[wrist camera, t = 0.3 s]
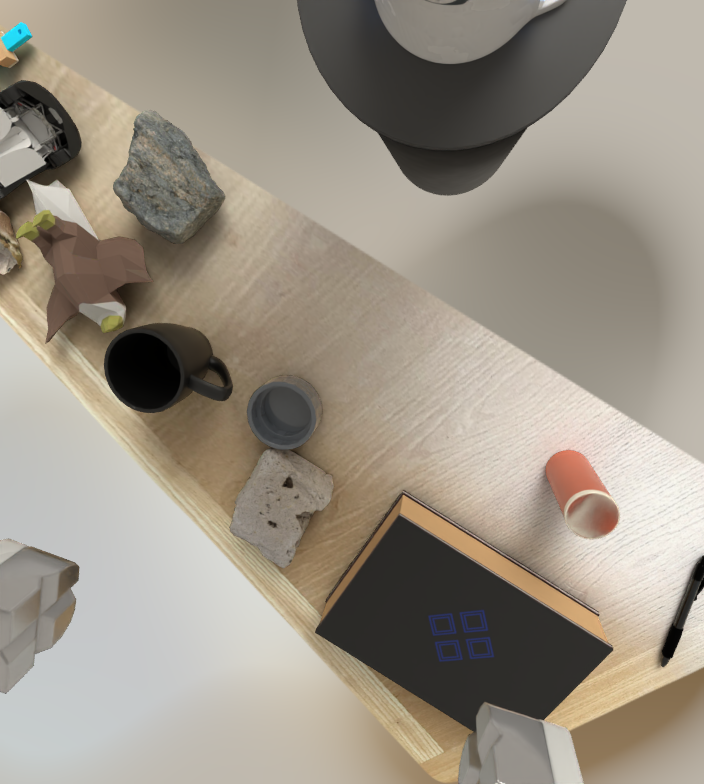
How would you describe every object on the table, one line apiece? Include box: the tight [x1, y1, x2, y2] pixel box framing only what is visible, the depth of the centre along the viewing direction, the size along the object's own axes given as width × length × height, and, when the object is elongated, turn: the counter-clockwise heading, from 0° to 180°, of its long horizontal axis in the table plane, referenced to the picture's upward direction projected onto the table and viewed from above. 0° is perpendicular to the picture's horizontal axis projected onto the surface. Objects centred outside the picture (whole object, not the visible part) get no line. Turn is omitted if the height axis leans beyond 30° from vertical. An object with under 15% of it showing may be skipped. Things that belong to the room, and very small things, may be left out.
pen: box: [661, 556, 704, 667], centre depth 58 cm, size 14×2×1 cm, turn 171°
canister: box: [546, 450, 620, 539], centre depth 51 cm, size 4×4×10 cm
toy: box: [16, 180, 153, 343], centre depth 55 cm, size 16×16×7 cm
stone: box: [229, 448, 334, 568], centre depth 60 cm, size 13×6×10 cm
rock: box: [113, 110, 225, 244], centre depth 53 cm, size 12×10×5 cm
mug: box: [104, 323, 233, 413], centre depth 55 cm, size 8×12×10 cm
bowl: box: [247, 375, 322, 450], centre depth 58 cm, size 7×7×4 cm
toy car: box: [0, 80, 81, 199], centre depth 55 cm, size 7×15×4 cm, turn 113°
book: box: [315, 490, 613, 732], centre depth 59 cm, size 17×25×7 cm
